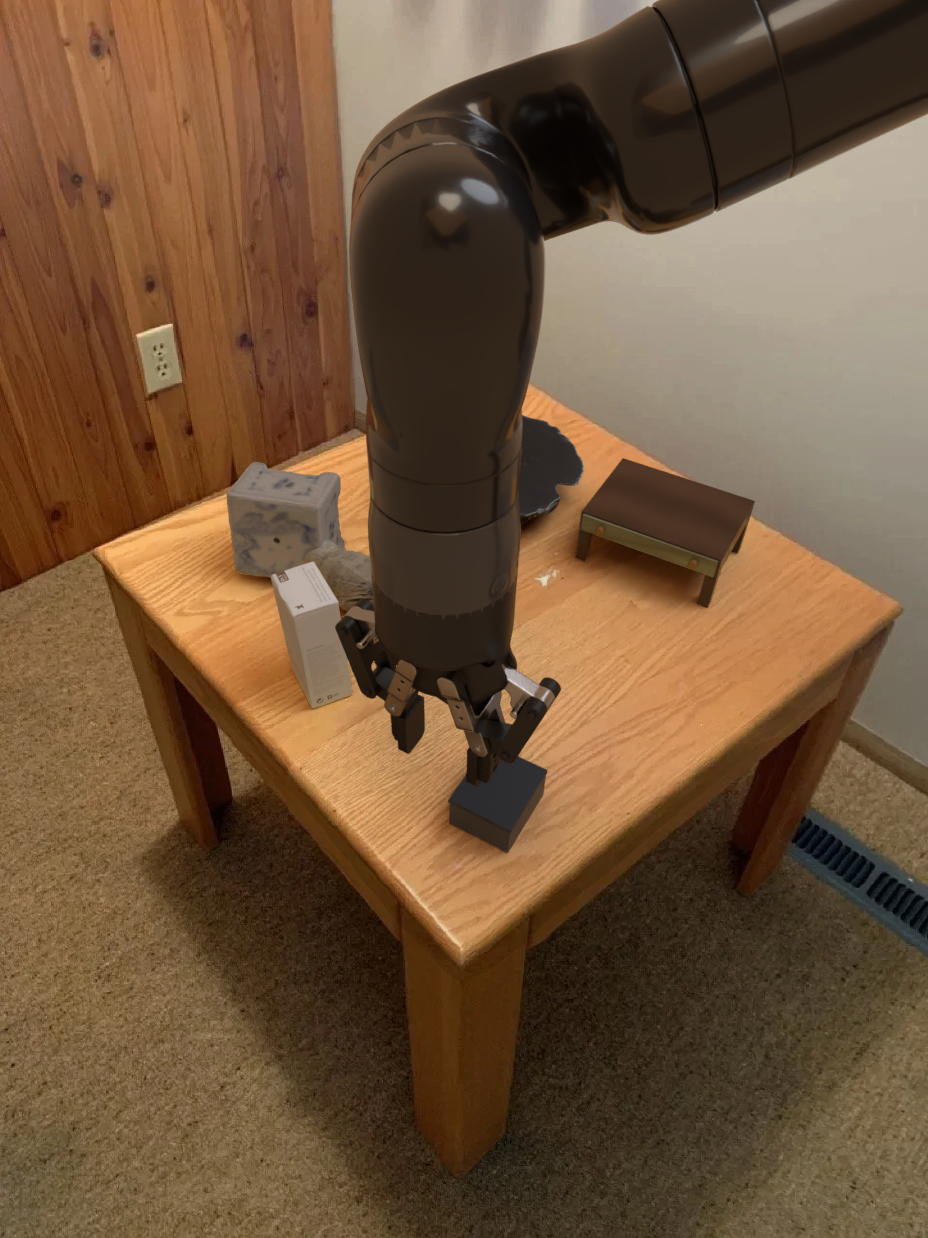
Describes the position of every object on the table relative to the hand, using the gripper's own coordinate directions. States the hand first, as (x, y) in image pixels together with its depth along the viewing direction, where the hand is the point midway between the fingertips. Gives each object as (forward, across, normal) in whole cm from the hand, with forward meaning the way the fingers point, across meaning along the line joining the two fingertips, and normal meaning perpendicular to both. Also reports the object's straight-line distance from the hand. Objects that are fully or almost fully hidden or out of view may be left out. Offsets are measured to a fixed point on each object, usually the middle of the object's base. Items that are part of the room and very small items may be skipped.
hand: (444, 757), depth 58 cm
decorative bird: (+18, +23, -22) cm, 37 cm away
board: (+18, +21, -46) cm, 53 cm away
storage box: (+17, 0, -8) cm, 19 cm away
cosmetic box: (+18, +21, -12) cm, 30 cm away
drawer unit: (+17, 0, -46) cm, 49 cm away
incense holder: (+17, +33, -24) cm, 45 cm away
